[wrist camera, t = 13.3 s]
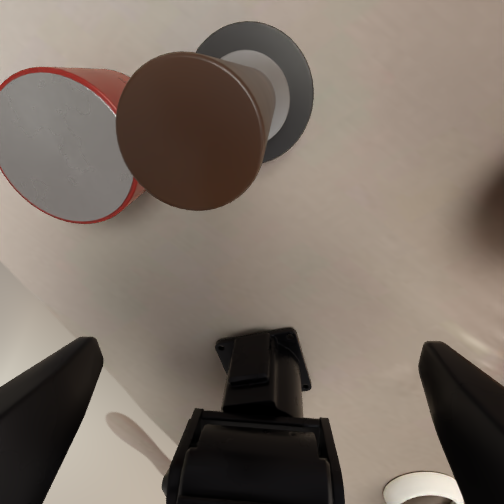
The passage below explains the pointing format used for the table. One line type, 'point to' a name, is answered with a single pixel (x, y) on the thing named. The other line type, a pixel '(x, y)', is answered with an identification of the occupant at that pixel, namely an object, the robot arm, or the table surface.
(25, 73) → the tin
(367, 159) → the table surface
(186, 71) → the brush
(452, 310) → the table surface
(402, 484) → the hook
